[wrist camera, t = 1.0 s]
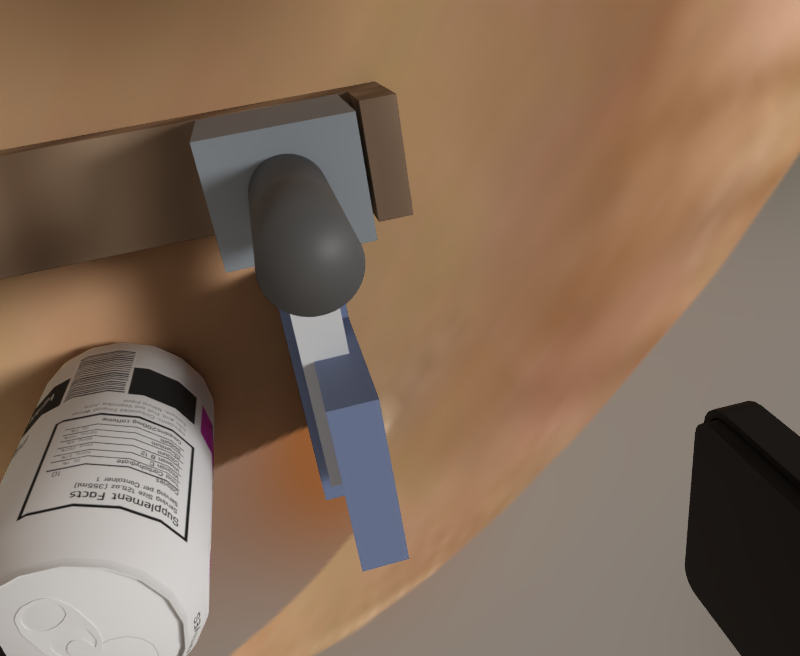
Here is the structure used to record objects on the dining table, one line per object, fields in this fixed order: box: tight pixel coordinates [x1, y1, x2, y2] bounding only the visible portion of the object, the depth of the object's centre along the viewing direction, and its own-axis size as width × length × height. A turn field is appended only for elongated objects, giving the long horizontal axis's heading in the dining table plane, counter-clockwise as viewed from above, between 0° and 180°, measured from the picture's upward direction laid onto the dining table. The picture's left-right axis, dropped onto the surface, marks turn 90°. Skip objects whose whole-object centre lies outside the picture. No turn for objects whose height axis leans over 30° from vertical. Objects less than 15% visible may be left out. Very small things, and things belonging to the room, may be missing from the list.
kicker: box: [190, 94, 409, 571], centre depth 29 cm, size 6×20×14 cm, turn 9°
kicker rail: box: [0, 82, 413, 279], centre depth 29 cm, size 30×5×4 cm, turn 99°
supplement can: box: [0, 342, 215, 656], centre depth 29 cm, size 8×8×15 cm
